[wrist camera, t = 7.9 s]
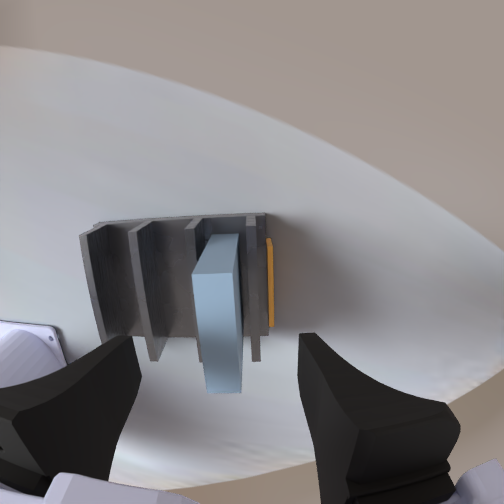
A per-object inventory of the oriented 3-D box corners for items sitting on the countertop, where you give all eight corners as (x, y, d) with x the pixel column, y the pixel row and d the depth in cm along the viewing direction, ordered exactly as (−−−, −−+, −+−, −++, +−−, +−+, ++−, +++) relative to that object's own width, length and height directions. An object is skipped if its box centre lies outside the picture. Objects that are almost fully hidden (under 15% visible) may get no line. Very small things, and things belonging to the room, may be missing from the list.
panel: (243, 323, 21) (241, 392, 14) (219, 324, 21) (207, 393, 14) (238, 233, 19) (232, 272, 13) (211, 234, 19) (191, 274, 13)
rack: (272, 328, 22) (275, 360, 18) (118, 328, 22) (98, 357, 18) (269, 212, 20) (274, 225, 16) (99, 222, 20) (70, 235, 16)
